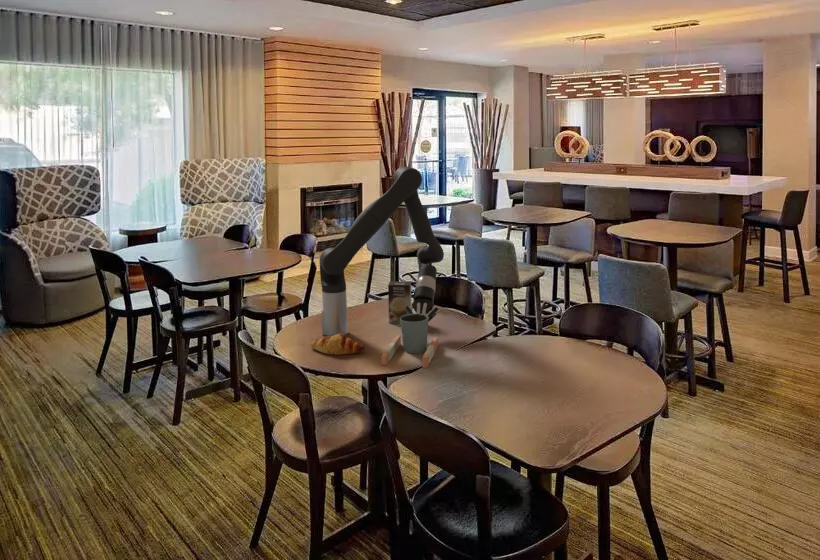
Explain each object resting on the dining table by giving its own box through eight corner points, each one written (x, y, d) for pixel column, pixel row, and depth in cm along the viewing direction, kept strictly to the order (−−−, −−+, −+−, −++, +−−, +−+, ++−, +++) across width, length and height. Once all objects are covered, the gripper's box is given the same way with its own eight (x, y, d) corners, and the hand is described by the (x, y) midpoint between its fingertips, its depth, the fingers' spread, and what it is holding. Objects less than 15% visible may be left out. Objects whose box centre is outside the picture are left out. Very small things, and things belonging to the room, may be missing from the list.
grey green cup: (432, 346, 244) (431, 314, 242) (424, 355, 235) (423, 322, 232) (405, 343, 248) (405, 312, 245) (396, 352, 238) (396, 320, 235)
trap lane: (381, 365, 226) (381, 355, 225) (396, 344, 247) (396, 335, 246) (426, 367, 223) (426, 357, 222) (438, 346, 244) (437, 337, 243)
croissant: (307, 360, 243) (301, 344, 238) (317, 340, 250) (311, 324, 245) (362, 364, 236) (357, 348, 231) (370, 343, 243) (366, 328, 238)
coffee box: (388, 323, 273) (387, 284, 270) (390, 318, 279) (389, 281, 276) (410, 323, 272) (409, 285, 269) (412, 319, 279) (411, 281, 275)
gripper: (406, 284, 256) (400, 324, 247) (440, 285, 253) (435, 326, 244) (409, 294, 262) (403, 334, 253) (443, 295, 259) (438, 335, 250)
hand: (419, 330), depth 249 cm, fingers closed
